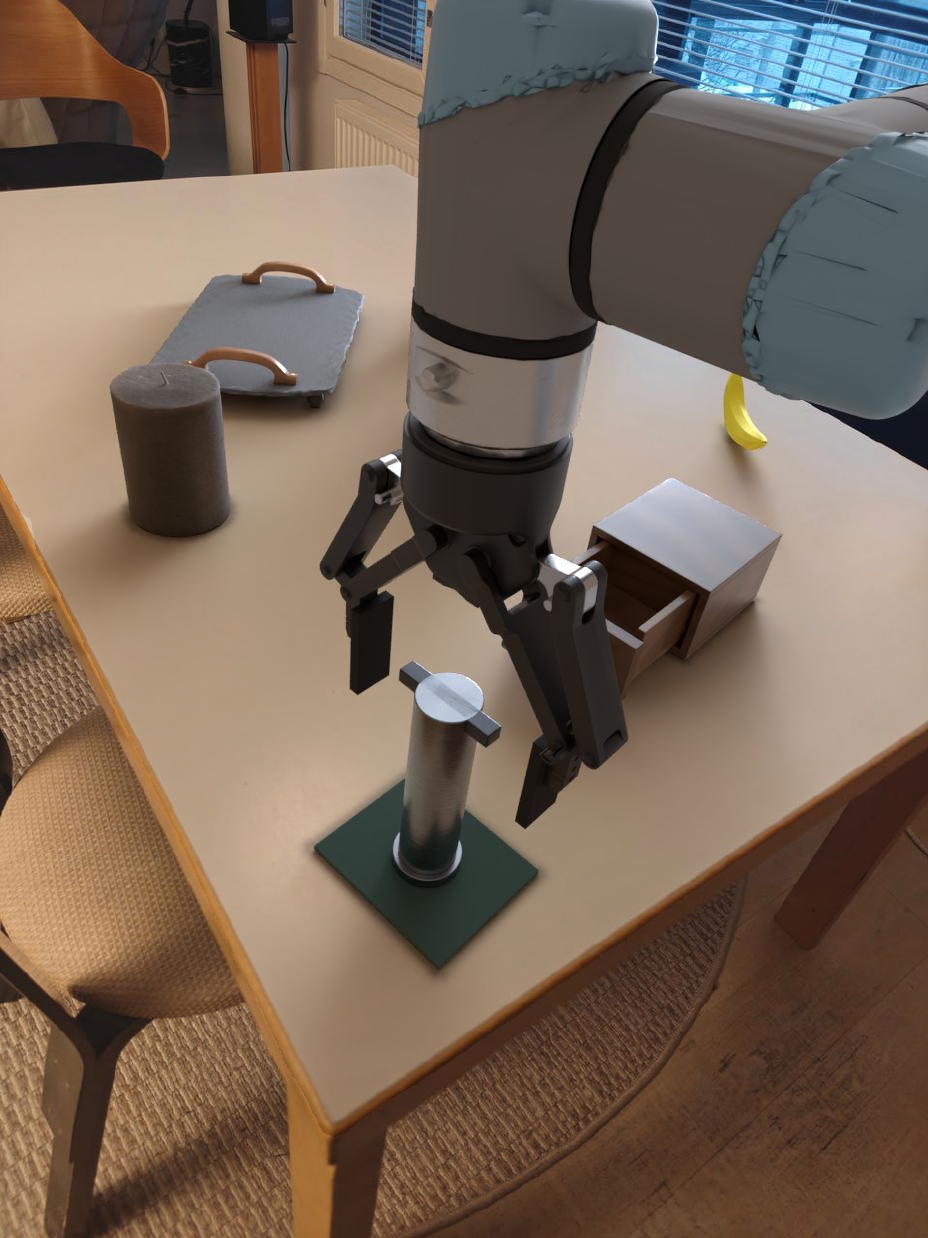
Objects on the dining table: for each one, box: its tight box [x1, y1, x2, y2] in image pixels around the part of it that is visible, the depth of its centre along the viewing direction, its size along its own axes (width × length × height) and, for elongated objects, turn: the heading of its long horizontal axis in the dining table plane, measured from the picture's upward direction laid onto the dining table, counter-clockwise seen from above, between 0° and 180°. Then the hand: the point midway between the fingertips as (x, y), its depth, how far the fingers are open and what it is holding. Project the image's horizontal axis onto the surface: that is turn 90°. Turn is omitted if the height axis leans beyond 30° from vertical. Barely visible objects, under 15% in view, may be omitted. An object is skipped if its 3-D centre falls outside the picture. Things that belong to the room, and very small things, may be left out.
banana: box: [722, 372, 768, 451], centre depth 111 cm, size 3×19×6 cm, turn 178°
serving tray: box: [149, 260, 366, 410], centre depth 116 cm, size 39×23×6 cm, turn 178°
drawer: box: [500, 539, 700, 702], centre depth 75 cm, size 18×11×6 cm, turn 137°
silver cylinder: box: [392, 660, 502, 888], centre depth 54 cm, size 7×5×16 cm
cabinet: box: [586, 477, 783, 661], centre depth 83 cm, size 14×13×8 cm
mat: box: [313, 777, 540, 970], centre depth 59 cm, size 12×10×1 cm
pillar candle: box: [109, 363, 231, 538], centre depth 82 cm, size 10×10×15 cm
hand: (447, 743), depth 51 cm, fingers open, 13 cm apart
